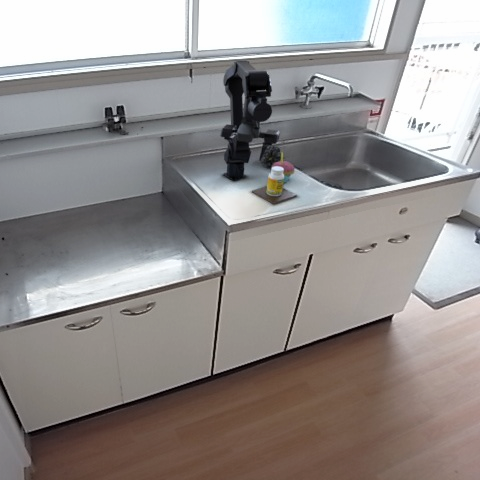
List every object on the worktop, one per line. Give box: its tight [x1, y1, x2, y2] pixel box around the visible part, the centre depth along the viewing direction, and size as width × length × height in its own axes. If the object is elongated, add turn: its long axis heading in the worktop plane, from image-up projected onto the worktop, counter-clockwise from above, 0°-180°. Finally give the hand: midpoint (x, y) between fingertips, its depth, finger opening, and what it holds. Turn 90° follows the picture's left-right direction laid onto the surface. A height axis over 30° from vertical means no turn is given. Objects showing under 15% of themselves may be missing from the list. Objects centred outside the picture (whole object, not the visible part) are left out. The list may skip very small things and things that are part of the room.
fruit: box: [260, 145, 284, 168], centre depth 162 cm, size 9×8×15 cm
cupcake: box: [270, 152, 296, 183], centre depth 147 cm, size 9×8×12 cm
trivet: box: [251, 185, 298, 205], centre depth 140 cm, size 11×11×1 cm
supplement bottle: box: [266, 166, 285, 196], centre depth 137 cm, size 5×5×10 cm
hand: (247, 158), depth 135 cm, fingers open, 9 cm apart
